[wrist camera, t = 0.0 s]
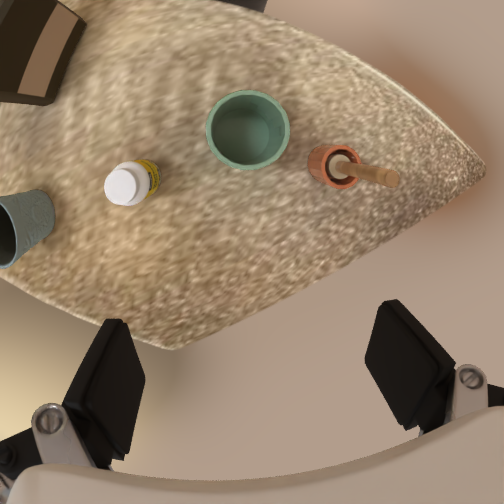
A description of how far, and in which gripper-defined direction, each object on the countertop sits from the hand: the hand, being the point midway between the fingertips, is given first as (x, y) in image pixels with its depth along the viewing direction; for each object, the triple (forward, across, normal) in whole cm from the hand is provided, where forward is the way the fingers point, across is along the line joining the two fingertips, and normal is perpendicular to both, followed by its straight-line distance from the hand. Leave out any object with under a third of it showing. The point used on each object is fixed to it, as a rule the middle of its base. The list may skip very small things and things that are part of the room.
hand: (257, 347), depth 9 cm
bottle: (+31, +29, -26) cm, 50 cm away
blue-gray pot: (+31, +34, -1) cm, 46 cm away
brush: (+30, -13, -5) cm, 33 cm away
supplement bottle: (+31, +13, -4) cm, 34 cm away
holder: (+31, -13, -5) cm, 34 cm away
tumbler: (+31, -1, -9) cm, 32 cm away
